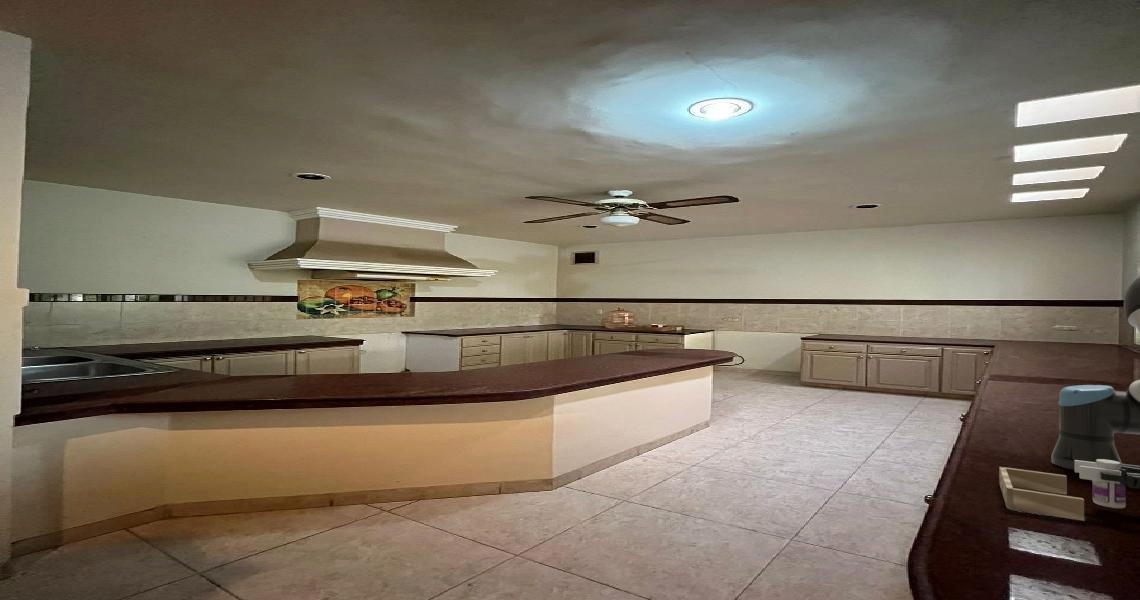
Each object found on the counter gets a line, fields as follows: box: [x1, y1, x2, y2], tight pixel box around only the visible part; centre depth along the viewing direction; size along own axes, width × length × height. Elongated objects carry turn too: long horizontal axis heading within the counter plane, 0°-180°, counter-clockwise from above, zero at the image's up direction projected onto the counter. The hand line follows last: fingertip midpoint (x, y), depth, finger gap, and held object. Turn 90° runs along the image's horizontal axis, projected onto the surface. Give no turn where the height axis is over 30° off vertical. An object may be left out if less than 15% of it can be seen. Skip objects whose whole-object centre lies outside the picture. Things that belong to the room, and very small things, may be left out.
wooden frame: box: [998, 466, 1085, 522], centre depth 133 cm, size 22×13×4 cm, turn 146°
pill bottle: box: [1091, 459, 1127, 509], centre depth 127 cm, size 5×5×10 cm
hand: (1077, 469), depth 130 cm, fingers closed on pill bottle, 5 cm apart
